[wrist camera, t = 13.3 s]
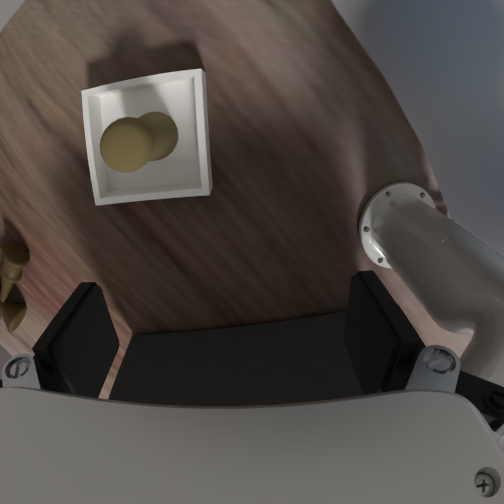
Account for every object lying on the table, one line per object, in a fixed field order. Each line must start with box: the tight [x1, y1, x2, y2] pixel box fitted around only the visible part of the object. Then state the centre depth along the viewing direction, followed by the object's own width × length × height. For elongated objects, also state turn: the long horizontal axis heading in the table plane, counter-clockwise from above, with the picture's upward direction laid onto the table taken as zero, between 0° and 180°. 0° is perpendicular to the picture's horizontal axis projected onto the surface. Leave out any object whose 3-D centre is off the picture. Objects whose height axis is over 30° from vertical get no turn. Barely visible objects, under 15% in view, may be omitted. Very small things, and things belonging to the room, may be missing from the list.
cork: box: [100, 111, 178, 173], centre depth 29 cm, size 6×6×11 cm
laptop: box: [108, 311, 363, 406], centre depth 40 cm, size 37×27×27 cm
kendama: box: [0, 242, 30, 333], centre depth 40 cm, size 6×10×20 cm
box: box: [82, 69, 213, 206], centre depth 32 cm, size 14×14×4 cm
